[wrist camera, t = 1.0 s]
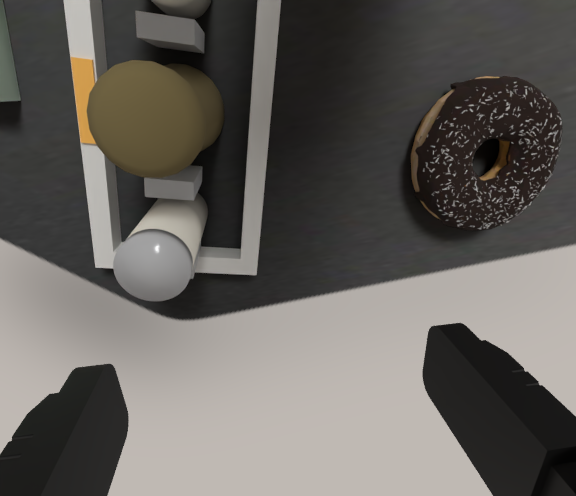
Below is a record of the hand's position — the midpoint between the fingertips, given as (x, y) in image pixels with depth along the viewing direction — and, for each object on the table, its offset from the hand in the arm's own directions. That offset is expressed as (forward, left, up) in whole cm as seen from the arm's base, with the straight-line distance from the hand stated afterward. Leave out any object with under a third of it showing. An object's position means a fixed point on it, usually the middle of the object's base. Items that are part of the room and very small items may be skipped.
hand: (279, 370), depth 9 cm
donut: (-4, +17, -21) cm, 27 cm away
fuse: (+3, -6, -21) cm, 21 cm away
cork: (-5, -6, -21) cm, 22 cm away
